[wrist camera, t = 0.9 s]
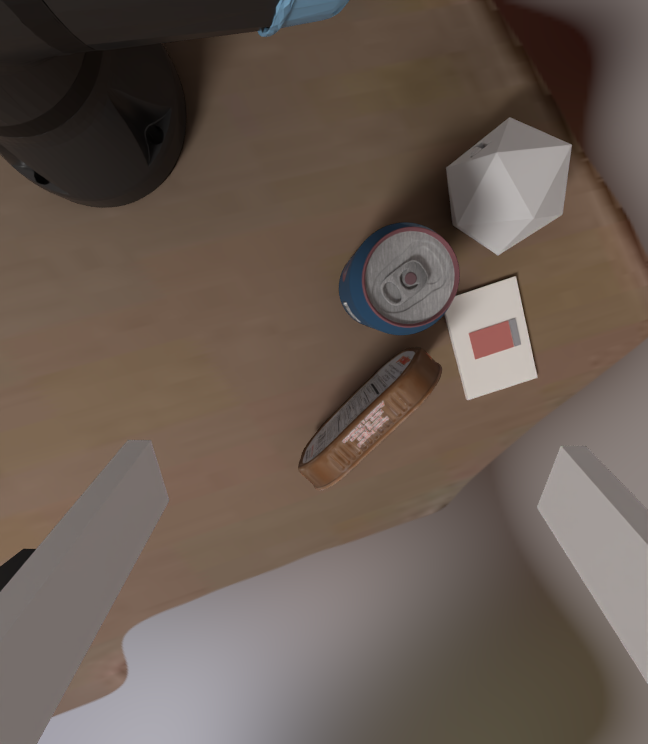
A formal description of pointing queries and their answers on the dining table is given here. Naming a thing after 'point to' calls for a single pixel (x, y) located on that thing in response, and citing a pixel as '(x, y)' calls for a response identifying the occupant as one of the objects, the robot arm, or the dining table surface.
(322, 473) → the tin
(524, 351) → the card
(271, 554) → the dining table surface
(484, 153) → the die
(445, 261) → the soda can
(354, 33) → the dining table surface
